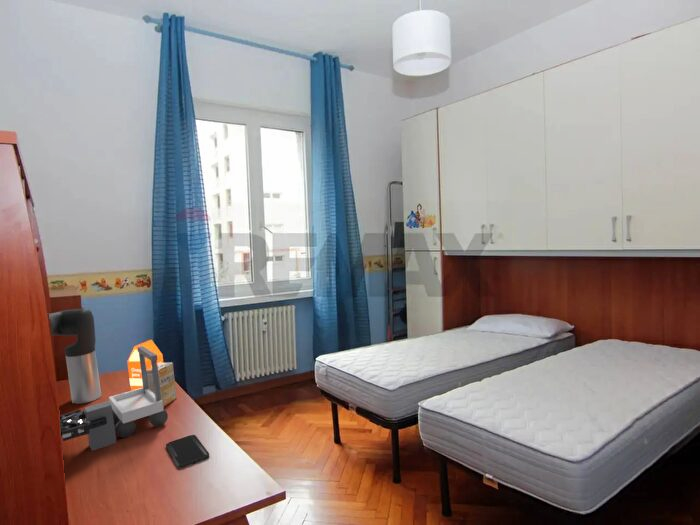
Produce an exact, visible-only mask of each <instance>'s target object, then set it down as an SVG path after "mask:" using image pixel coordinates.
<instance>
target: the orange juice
mask: <svg viewBox="0 0 700 525" xmlns="http://www.w3.org/2000/svg"><path fill="white" fill-rule="evenodd" d="M140 346H144V347H145V348H147V349H148V350H150V351H152V352H153V353H155V354H156V355H157V359H158V360H157V365H158V364H160V363H164V358H163V357H164V356H163V353H162V352H161V351H160V349H159V347H158V346H157V345H156V344H155V343H154V341H153V340H152V339H149V340H146V341H145V342H141V343H139V344H137V345H134V347H133V349H132V351H131V353H130V355H129V357H128V359H127V370H128V377H129V378H128V379H129V385H130V391H132V390H135V389H139V388H143V382H142V374H141V366H140V358H139V352H138V348H137V347H140ZM145 362H146V370H148V369H150V368H152V365H151V361H150V360H149V359H147V358H146V357H145Z"/></svg>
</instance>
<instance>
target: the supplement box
mask: <svg viewBox="0 0 700 525" xmlns="http://www.w3.org/2000/svg"><path fill="white" fill-rule="evenodd" d="M174 371H175V370H174V362H172V361H171V362H163V363H160V364H158V374H159V382H160V390H161V398H162V402H163V408H164V407H166V406H167V405H168V404H170V403H171V402H172V401H174V400H177V390H176V381H175V380H176V379H175V373H174ZM147 378H148V386H149V390H150V391H152V392H153V393H154V394H155V390H154V382H153V374H152V368H150V369H148V370H147Z"/></svg>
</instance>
